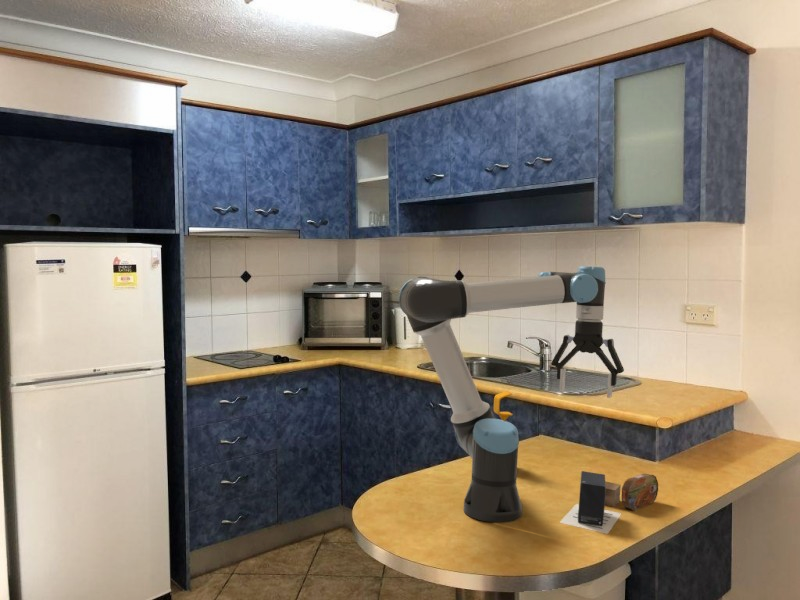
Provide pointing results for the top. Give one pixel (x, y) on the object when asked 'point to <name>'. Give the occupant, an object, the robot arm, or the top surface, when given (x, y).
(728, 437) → the top surface
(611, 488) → the walnut block
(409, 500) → the top surface
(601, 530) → the letter
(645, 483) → the tin
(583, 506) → the small box
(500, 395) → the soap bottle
